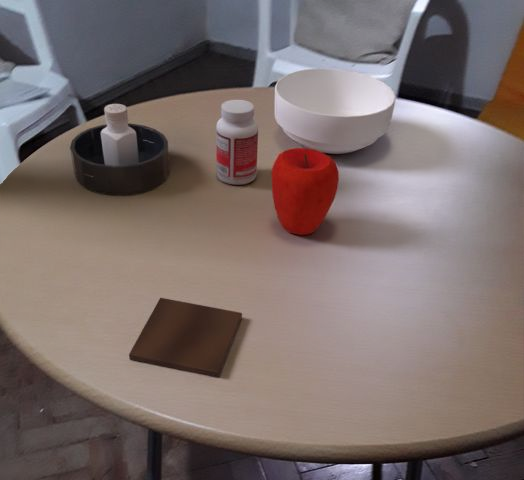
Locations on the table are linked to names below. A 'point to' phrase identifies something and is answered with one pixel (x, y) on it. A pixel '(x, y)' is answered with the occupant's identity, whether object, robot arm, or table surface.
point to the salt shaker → (118, 137)
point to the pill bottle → (237, 143)
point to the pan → (120, 176)
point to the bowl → (333, 109)
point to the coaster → (187, 337)
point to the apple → (303, 188)
